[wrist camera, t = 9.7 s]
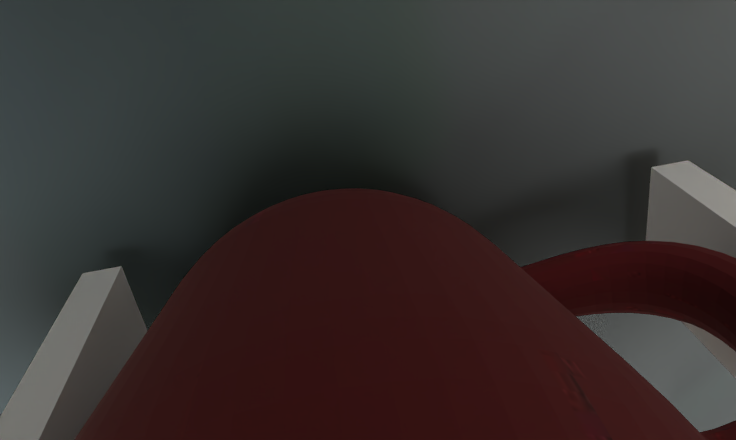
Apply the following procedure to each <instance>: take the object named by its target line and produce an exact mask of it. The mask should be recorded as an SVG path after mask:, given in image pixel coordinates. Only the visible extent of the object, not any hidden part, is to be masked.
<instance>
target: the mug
mask: <svg viewBox="0 0 736 440" xmlns="http://www.w3.org/2000/svg"><path fill="white" fill-rule="evenodd" d="M601 313H640V314H651V315H657V316H662V317H668V318H672V319H675V320H679V321H682V322H686V323H689V324H692V325H694V326H696V327H699V328H701V329H703V330H705V331H707V332H708V333H710V334H712V335H713V336H715V337H717V338H718V339H720V340H722V341H723V342H724V343H725V344H727V345H728V346H729V347H730V348H732V349H733V350H734V351H735V352H736V258H734V257H732V256H729V255H727V254H725V253H722V252H718V251H715V250H711V249H707V248H704V247H700V246H696V245H690V244H683V243H677V242H666V241H629V242H620V243H612V244H605V245H600V246H595V247H590V248H585V249H581V250H577V251H573V252H569V253H566V254H562V255H558V256H555V257H552V258H548V259H545V260H542V261H539V262H535V263H532V264H529V265H526V266H523V267H519V266H518V265H517V264H516V263H515V262H514V261H513V260H512V259H510V258H509V257H508V256H507V255H506V254H505V253H504V252H503V251H501V250H500V249H499V248H498V247H497V246H496V245H495V244H493V243H492V242H491V241H490V240H488V239H487V238H486V237H484V236H483V235H482V234H481V233H479V232H478V231H477V230H475V229H474V228H473V227H472V226H470V225H469V224H467V223H465V222H464V221H462V220H461V219H459V218H457V217H456V216H454V215H452V214H450V213H448V212H446V211H444V210H442V209H440V208H438V207H436V206H434V205H432V204H429V203H427V202H424V201H421V200H418V199H416V198H412V197H408V196H404V195H401V194H397V193H393V192H387V191H381V190H374V189H360V188H351V189H333V190H324V191H318V192H314V193H309V194H304V195H301V196H297V197H294V198H291V199H287V200H285V201H283V202H280V203H278V204H275V205H273V206H270V207H268V208H266V209H265V210H263V211H261V212H259V213H257V214H255V215H253V216H251V217H250V218H248V219H246V220H245V221H243V222H242V223H240V224H239V225H237V226H235V227H234V228H233V229H232V230H230V231H229V232H228V233H226V234H225V235H224V236H223V237H221V238H220V239H219V240H218V241H217V242H216V243H215V244H214V245H213V246H212V247H211V248H210V249H208V250H207V251H206V252H205V253H204V254H203V255H202V256H201V257H200V258H199V260H198V261H197V262H196V263H195V264H194V266H193V267H192V268H191V269H190V270H189V272H188V273H187V274H186V276H185V277H184V278H183V279H182V281H181V282H180V283H179V285H178V286H177V288H176V289H175V291H174V292H173V294H172V295H171V297H170V298H169V300H168V301H167V303H166V304H165V306H164V307H163V309H162V310H161V312H160V313H159V315H158V316H157V318H156V319H155V321H154V322H153V324H152V325H151V326H150V328H149V329H148V331H147V332H146V334H145V335H144V337H143V338H142V340H141V341H140V343H139V344H138V346H137V347H136V349H135V350H134V352H133V353H132V355H131V356H130V358H129V359H128V361H127V362H126V364H125V365H124V367H123V368H122V370H121V371H120V373H119V374H118V376H117V377H116V378H115V380H114V381H113V383H112V384H111V386H110V387H109V389H108V390H107V392H106V393H105V395H104V396H103V398H102V399H101V401H100V402H99V404H98V405H97V407H96V408H95V410H94V411H93V413H92V414H91V416H90V417H89V419H88V420H87V422H86V423H85V425H84V426H83V428H82V429H81V430H80V432H79V433H78V435H77V436H76V438H75V439H74V440H736V421H733V422H731V423H728V424H726V425H723V426H720V427H718V428H715V429H712V430H708V431H704V432H700V433H699V432H698V430H697V429H696V428H695V427H694V426H693V425H692V424H691V423H690V422H689V421H688V420H687V419H686V418H685V417H684V416H683V415H682V414H681V413H680V412H679V411H678V410H677V409H676V408H675V407H674V406H673V405H672V404H671V403H670V402H669V401H668V400H667V399H666V398H665V397H664V396H663V395H662V394H661V393H660V392H659V391H658V390H656V389H655V388H654V387H653V386H652V385H651V384H650V383H649V382H648V381H647V380H646V379H645V378H643V377H642V376H641V375H640V374H639V373H638V372H637V371H636V370H635V369H634V368H633V367H632V366H631V365H629V364H628V363H627V362H626V361H625V360H624V359H623V358H622V357H621V356H620V355H618V354H617V353H616V352H615V351H614V350H613V349H612V348H611V347H609V346H608V345H607V344H606V343H605V342H604V341H603V340H602V339H600V338H599V337H598V336H597V335H596V334H595V333H594V332H593V331H591V330H590V329H589V328H588V327H587V326H586V325H585V324H584V323H582V322H581V321H580V320H579V319H578V318H577V317H576V316H582V315H590V314H601Z"/></svg>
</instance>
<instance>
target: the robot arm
mask: <svg viewBox="0 0 736 440" xmlns="http://www.w3.org/2000/svg"><path fill="white" fill-rule="evenodd" d="M646 241H666V242H677V243H683V244H690V245H696V246H700V247H704V248H707V249H711V250H715V251H718V252H722V253H725V254H727V255H729V256H732V257H734V258H736V190H734V189H733V188H731V187H730V186H728V185H726V184H725V183H723V182H722V181H720V180H719V179H717V178H715V177H714V176H712V175H711V174H709V173H707V172H706V171H704V170H703V169H701V168H699V167H698V166H696V165H695V164H693V163H691V162H690V161H688V160H687V161H682V162H676V163H671V164H666V165H660V166H655V167H651V177H650V190H649V204H648V217H647V230H646ZM683 323H684V325H685V326H686V327H687V328H688V329H689V330H690V331H691V332H692V333H693V334H694V335H695V336H696V337H697V338H698V339H699V340H700V341H701V342H702V343H703V345H704V346H705V347H706V348H707V349H708V350H709V351H710V352H711V353H712V354H713V355H714V356H715V357H716V358H717V359H718V360H719V361H720V362H721V363H722V365H723V366H724V367H725V368H726V369H727V370H728V371H729V372H730V373H731V374H732V375H733V376H734V377H735V378H736V352H735V351H734V350H733V349H732V348H730V347H729V346H728V345H727V344H725V343H724V342H723V341H722V340H720V339H718V338H717V337H715V336H713V335H712V334H710V333H708V332H707V331H705V330H703V329H701V328H699V327H696V326H694V325H692V324H689V323H686V322H683ZM146 332H147V328H146V326H145V323H144V321H143V318H142V316H141V313H140V311H139V308H138V306H137V303H136V301H135V298H134V296H133V293H132V291H131V288H130V286H129V283H128V281H127V278H126V276H125V273H124V271H123V268H122V266H119V267H114V268H108V269H103V270H98V271H92V272H87V273H82V275H81V277H80V279H79V280H78V282H77V284H76V285H75V287H74V289H73V291H72V292H71V294H70V296H69V298H68V299H67V301H66V303H65V305H64V306H63V308H62V310H61V312H60V313H59V315H58V317H57V319H56V320H55V322H54V324H53V325H52V327H51V329H50V331H49V332H48V334H47V336H46V338H45V339H44V341H43V343H42V345H41V346H40V348H39V350H38V352H37V353H36V355H35V357H34V359H33V360H32V362H31V364H30V365H29V367H28V369H27V371H26V372H25V374H24V376H23V378H22V379H21V381H20V383H19V385H18V386H17V388H16V390H15V392H14V393H13V395H12V397H11V398H10V400H9V402H8V404H7V405H6V407H5V409H4V411H3V412H2V414H1V416H0V440H74V439H75V438H76V436H77V435H78V433H79V432H80V430H81V429H82V428H83V426H84V425H85V423H86V422H87V420H88V419H89V417H90V416H91V414H92V413H93V411H94V410H95V408H96V407H97V405H98V404H99V402H100V401H101V399H102V398H103V396H104V395H105V393H106V392H107V390H108V389H109V387H110V386H111V384H112V383H113V381H114V380H115V378H116V377H117V376H118V374H119V373H120V371H121V370H122V368H123V367H124V365H125V364H126V362H127V361H128V359H129V358H130V356H131V355H132V353H133V352H134V350H135V349H136V347H137V346H138V344H139V343H140V341H141V340H142V338H143V337H144V335H145V334H146Z"/></svg>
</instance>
